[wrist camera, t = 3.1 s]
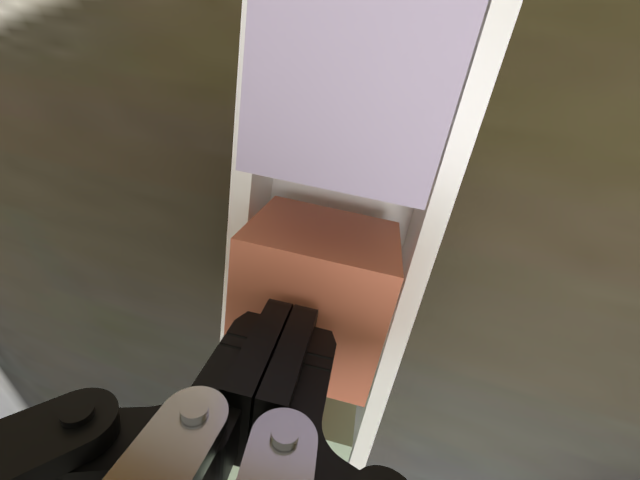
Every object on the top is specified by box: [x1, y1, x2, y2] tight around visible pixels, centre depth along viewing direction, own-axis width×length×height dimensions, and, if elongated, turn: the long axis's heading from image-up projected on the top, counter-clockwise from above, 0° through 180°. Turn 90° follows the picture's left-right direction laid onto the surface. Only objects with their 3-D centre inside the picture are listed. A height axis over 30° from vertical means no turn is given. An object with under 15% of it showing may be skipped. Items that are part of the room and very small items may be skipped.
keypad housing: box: [220, 0, 523, 470], centre depth 18 cm, size 28×8×4 cm, turn 170°
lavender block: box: [236, 0, 489, 210], centre depth 10 cm, size 5×5×4 cm
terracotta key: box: [224, 196, 404, 407], centre depth 13 cm, size 5×5×4 cm
